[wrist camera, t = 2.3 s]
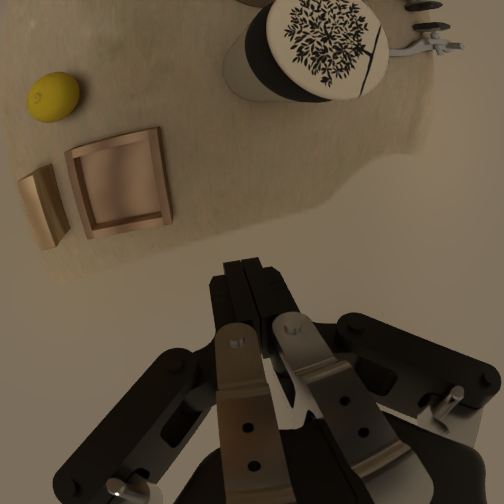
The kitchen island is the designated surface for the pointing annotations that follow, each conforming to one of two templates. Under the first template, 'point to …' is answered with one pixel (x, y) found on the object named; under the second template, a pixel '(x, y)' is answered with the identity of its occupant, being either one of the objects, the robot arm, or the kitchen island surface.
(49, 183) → the oak stop
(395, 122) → the kitchen island surface
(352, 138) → the kitchen island surface
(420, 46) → the bike brake
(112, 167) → the walnut tray
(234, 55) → the travel mug
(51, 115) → the lemon
